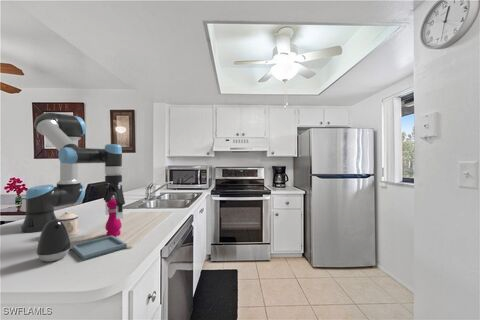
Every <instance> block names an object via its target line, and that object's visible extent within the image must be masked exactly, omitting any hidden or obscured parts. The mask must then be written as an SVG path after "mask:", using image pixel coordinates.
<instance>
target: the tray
mask: <svg viewBox="0 0 480 320" xmlns="http://www.w3.org/2000/svg"><path fill="white" fill-rule="evenodd" d="M127 245H128V243H126V242H125V241H123V240H121V239H119V238H118V237H117V236H115V237H114V236H112V235H111V236H107V235H106V236H104V237H100V238H95V239H91V240H87V241H83V242H78V243H75V244H71V251H73V253H75V255H77V257H79V259H81V260H82V261H83V262H85V261H87V260H91V259H94V258H95V259H96V258H98V257H101V256H104V255H108V254H112V253H115V252H118V251H121V250H125V249H128V248H127V247H128V246H127Z"/></svg>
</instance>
